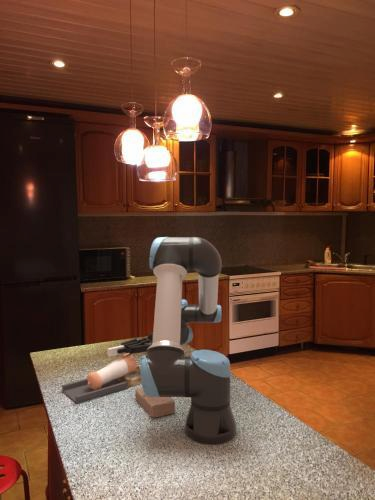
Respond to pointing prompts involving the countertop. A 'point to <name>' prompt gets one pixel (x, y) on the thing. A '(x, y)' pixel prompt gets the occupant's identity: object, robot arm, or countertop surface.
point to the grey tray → (91, 390)
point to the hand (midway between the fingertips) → (108, 352)
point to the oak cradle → (130, 381)
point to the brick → (155, 403)
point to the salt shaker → (112, 371)
